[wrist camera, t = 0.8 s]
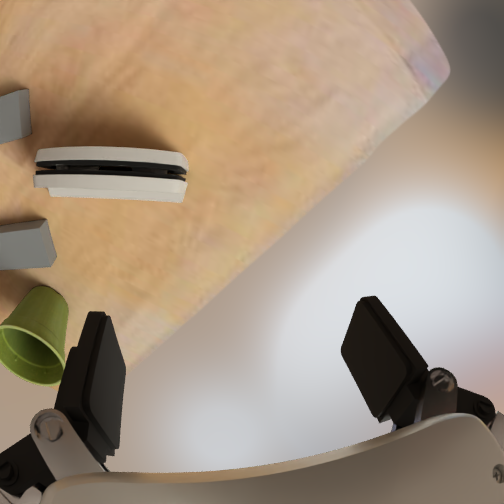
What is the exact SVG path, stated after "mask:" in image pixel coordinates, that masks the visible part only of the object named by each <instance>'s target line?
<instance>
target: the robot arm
mask: <svg viewBox="0 0 504 504" xmlns="http://www.w3.org/2000/svg"><path fill="white" fill-rule="evenodd" d="M341 355H342V357H343V359H344V361H345V363H346V364H347V366H348V368H349V370H350V372H351V374H352V376H353V378H354V380H355V382H356V384H357V386H358V388H359V390H360V391H361V393H362V396H363V397H364V399H365V401H366V403H367V405H368V407H369V409H370V411H371V413H372V415H373V416H374V417H375V418H377V419H378V421H379V423H381V422H384V421H387V420H390V419H392V421H393V426H392V430H391V432H390V433H388V434H385V435H382V436H379V437H376V438H373V439H370V440H368V441H364V442H361V443H358V444H355V445H352V446H348V447H344V448H341V449H338V450H334V451H330V452H326V453H322V454H318V455H314V456H309V457H305V458H301V459H296V460H291V461H286V462H280V463H274V464H268V465H262V466H255V467H248V468H240V469H230V470H220V471H206V472H188V473H187V472H186V473H185V472H184V473H137V472H110V471H109V469H108V468H107V467H106V466H105V464H104V463H105V462H106V455H109V456H114V454H115V449H118V448H119V443H120V428H121V415H122V402H123V393H124V384H125V375H126V366H125V362H124V359H123V356H122V353H121V350H120V347H119V344H118V341H117V337H116V334H115V331H114V327H113V324H112V320H111V317H110V316H106V314H105V312H96V311H90V312H89V313H88V315H87V318H86V321H85V324H84V327H83V330H82V333H81V336H80V339H79V343H78V346H77V347H72V348H71V349H70V352H69V355H68V358H67V361H66V365H65V368H64V372H63V375H62V379H61V382H60V386H59V390H58V394H57V398H56V402H55V407H54V409H52V408H51V409H44V410H41V411H39V412H38V413H37V414H36V415H35V416H34V417H33V419H32V421H31V424H30V432H31V433H30V434H29V435H27V436H26V437H24V438H23V439H21V440H20V441H19V442H17V443H15V444H14V445H12V446H11V447H9V448H8V449H6V450H5V451H3V452H2V453H0V504H504V415H503V414H502V413H500V412H499V411H497V413H495V408H494V405H493V403H492V402H491V401H490V400H489V399H488V398H486V397H484V396H482V395H479V394H476V393H473V392H470V391H468V390H465V389H462V388H459V387H458V385H457V380H456V378H455V376H454V375H453V374H452V373H451V372H449V371H448V370H446V369H444V368H440V367H438V368H433V369H431V370H430V371H428V369H427V367H428V365H427V363H426V362H425V360H424V359H423V358H422V356H421V355H420V353H419V352H418V351H417V349H416V348H415V346H414V345H413V344H412V343H411V341H410V340H409V338H408V337H407V336H406V334H405V333H404V332H403V330H402V329H401V328H400V326H399V325H398V324H397V322H396V321H395V320H394V318H393V317H392V316H391V314H390V313H389V312H388V310H387V309H386V308H385V307H384V305H383V304H382V303H381V302H380V300H379V299H378V298H377V297H376V296H369V297H362V298H361V299H360V301H358V302H357V304H356V307H355V310H354V313H353V316H352V319H351V322H350V324H349V327H348V330H347V333H346V336H345V338H344V341H343V344H342V346H341Z"/></svg>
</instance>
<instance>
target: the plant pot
mask: <svg viewBox="0 0 504 504" xmlns="http://www.w3.org/2000/svg"><path fill="white" fill-rule="evenodd" d="M68 312H69V310H68V305H67V303H66V301H65V299H64V298H63V297H62V296H61V295H59V294H58V293H56V292H55V291H54V290H53V289H51V288H49V287H45V286H37V287H35V288H33V289H32V290H31V291H30V292H29V293H28V294H27V295H26V296H25V298H24V299H23V300H22V301H21V302H20V304H19V305H18V306H17V307H16V308H15V310H14V311H13V312H12V313H11V315H10V316H9V317H8V318H7V319H5V320H4V321H3V322H2V324H1V325H0V363H1V364H2V365H3V366H4V367H5V368H7V369H8V370H9V371H10V372H12V373H13V374H14V375H16V376H17V377H19V378H21V379H23V380H25V381H27V382H30V383H33V384H36V385H40V386H56V385H59V384H60V382H61V379H62V375H63V372H64V368H65V365H66V364H65V353H64V346H65V336H66V328H67V320H68Z"/></svg>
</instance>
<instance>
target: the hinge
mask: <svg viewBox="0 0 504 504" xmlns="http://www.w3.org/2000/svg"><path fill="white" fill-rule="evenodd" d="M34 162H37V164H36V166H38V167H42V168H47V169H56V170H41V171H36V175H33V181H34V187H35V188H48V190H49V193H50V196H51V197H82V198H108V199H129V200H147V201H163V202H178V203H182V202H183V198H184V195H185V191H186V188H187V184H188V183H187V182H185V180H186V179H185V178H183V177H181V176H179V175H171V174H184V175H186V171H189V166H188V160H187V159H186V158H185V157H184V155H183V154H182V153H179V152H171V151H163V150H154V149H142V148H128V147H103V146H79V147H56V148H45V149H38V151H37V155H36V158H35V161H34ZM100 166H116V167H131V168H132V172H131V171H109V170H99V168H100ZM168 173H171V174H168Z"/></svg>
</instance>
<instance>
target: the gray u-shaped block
mask: <svg viewBox="0 0 504 504" xmlns="http://www.w3.org/2000/svg"><path fill="white" fill-rule="evenodd" d="M30 134H32V131H31V120H30V105H29V89H25V90H18V91H15V92H12V93H9V94H7V95H4V96H1V97H0V144H3V143H6V142H10V141H13V140H17V139H21V138H23V137H26V136H28V135H30ZM56 257H57V255H56V251H55V248H54V244H53V241H52V237H51V233H50V230H49V226H48V222H47V219H44V220H36V221H29V222H21V223H14V224H7V225H1V226H0V270H13V269H28V268H43V267H51V266H52V264H53V263H54V261H55V259H56Z"/></svg>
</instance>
